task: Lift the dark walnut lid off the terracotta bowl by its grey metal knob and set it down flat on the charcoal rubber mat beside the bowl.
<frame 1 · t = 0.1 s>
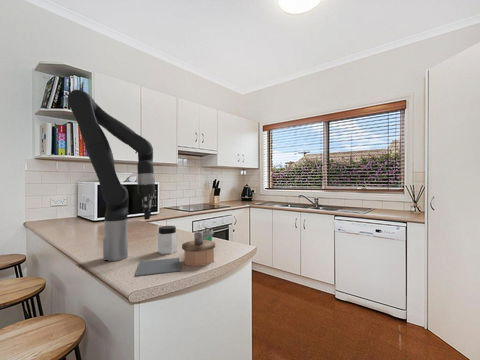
hand: (147, 218, 112), 17 cm above the countertop, tool pointing down, fingers open, 8 cm apart
mat: (159, 266, 96), on the countertop
lid: (198, 246, 103), point 6 cm above the countertop, touching bowl
bowl: (198, 260, 103), on the countertop
jar: (167, 252, 117), on the countertop
food container: (207, 250, 120), on the countertop
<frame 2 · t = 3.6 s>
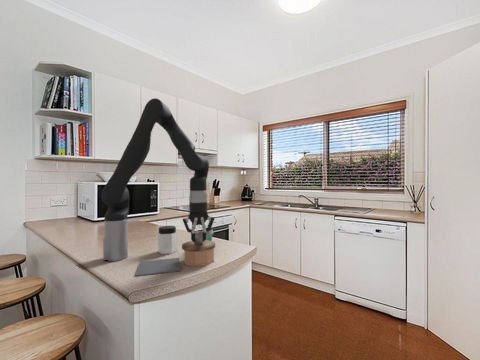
hand: (198, 241, 103), 8 cm above the countertop, tool pointing down, fingers closed on lid, 3 cm apart
lid: (198, 246, 103), point 6 cm above the countertop, touching bowl, gripper
everything else where it was.
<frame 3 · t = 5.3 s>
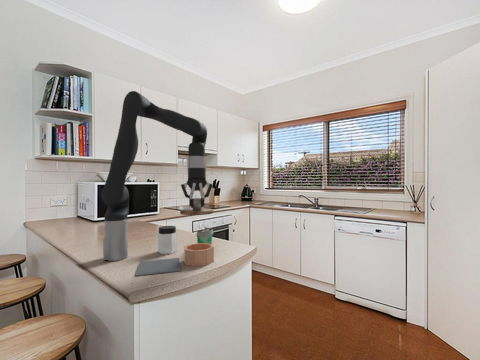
hand: (197, 207, 103), 23 cm above the countertop, tool pointing down, fingers closed on lid, 3 cm apart
lid: (197, 212, 103), point 21 cm above the countertop, touching gripper
everything else where it was.
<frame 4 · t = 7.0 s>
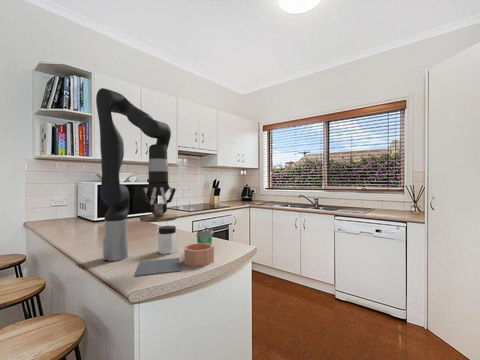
hand: (158, 213, 97), 21 cm above the countertop, tool pointing down, fingers closed on lid, 3 cm apart
lid: (158, 219, 96), point 19 cm above the countertop, touching gripper
everything else where it was.
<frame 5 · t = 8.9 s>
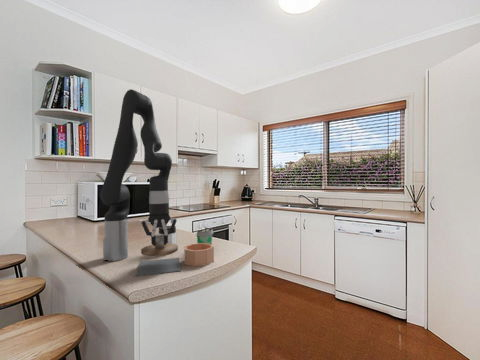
hand: (159, 244, 97), 9 cm above the countertop, tool pointing down, fingers closed on lid, 3 cm apart
lid: (159, 250, 96), point 6 cm above the countertop, touching gripper
everything else where it was.
when the fingers open (5 cm above the countertop, at t = 10.6 s): lid drops 2 cm, resting on mat.
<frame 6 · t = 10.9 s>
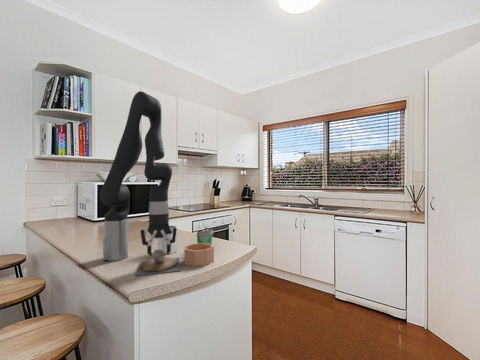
hand: (159, 254, 96), 5 cm above the countertop, tool pointing down, fingers open, 6 cm apart
lid: (159, 265, 96), resting on mat
everything else where it was.
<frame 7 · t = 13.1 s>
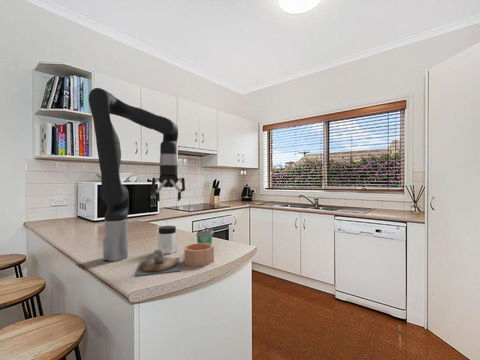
hand: (168, 201, 107), 25 cm above the countertop, tool pointing down, fingers open, 8 cm apart
nothing on the countertop moved.
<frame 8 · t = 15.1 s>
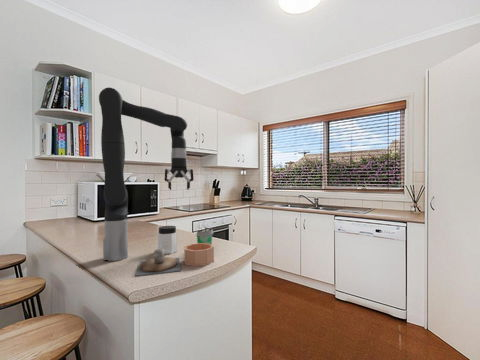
hand: (179, 189, 122), 30 cm above the countertop, tool pointing down, fingers open, 8 cm apart
nothing on the countertop moved.
at the end: lid inside the target area on the mat (0.1 cm from its centre), point 0.4 cm above the mat's base; lid tilted 0°; the gripper is holding nothing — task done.
